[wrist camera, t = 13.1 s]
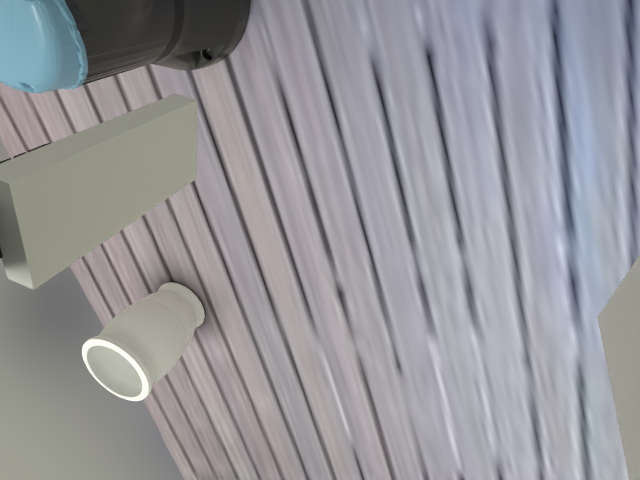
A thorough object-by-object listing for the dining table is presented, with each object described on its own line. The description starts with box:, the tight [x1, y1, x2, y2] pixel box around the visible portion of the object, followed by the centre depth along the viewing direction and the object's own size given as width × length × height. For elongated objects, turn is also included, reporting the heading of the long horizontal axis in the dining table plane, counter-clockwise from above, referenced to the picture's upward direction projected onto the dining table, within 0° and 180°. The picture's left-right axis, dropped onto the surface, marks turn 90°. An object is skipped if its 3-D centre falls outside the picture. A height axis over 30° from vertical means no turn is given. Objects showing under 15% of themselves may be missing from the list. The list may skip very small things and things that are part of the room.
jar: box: [82, 282, 205, 401], centre depth 68 cm, size 11×10×15 cm
